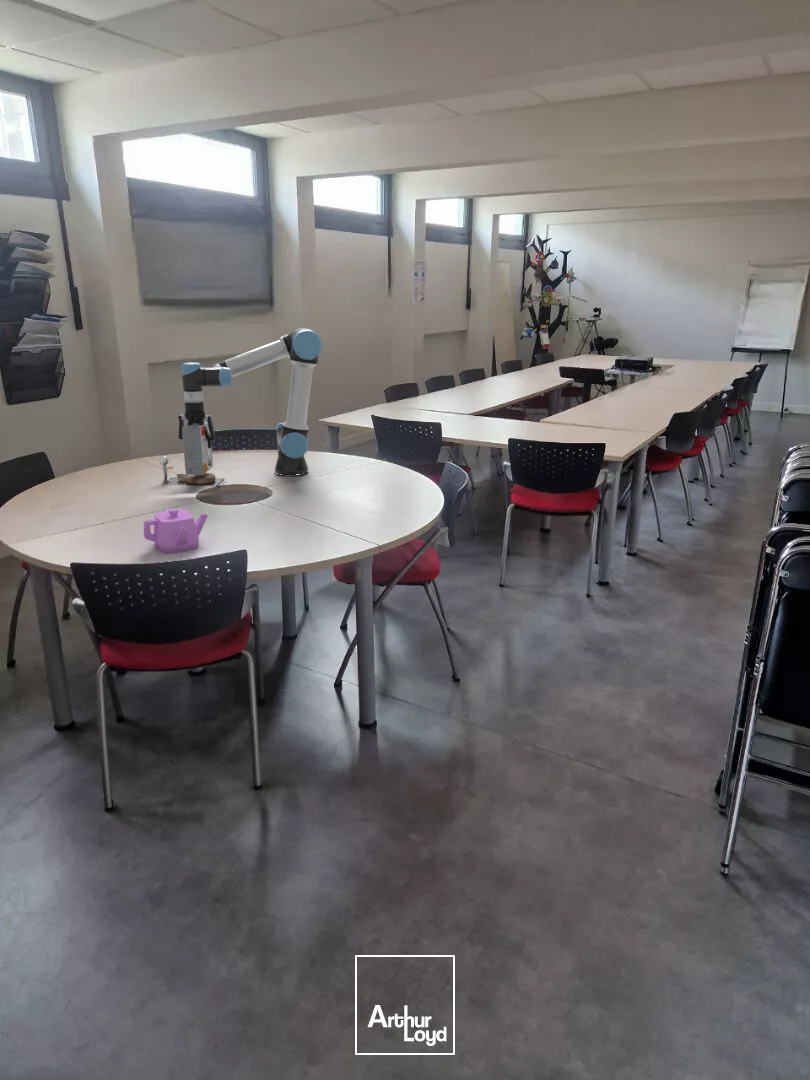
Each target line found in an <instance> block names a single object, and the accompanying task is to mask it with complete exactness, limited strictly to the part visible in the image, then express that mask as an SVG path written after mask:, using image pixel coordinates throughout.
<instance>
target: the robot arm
mask: <svg viewBox="0 0 810 1080" xmlns="http://www.w3.org/2000/svg"><path fill="white" fill-rule="evenodd" d="M321 350H322V340H321V338H320V336H319V335H318V333H317V332H316V331H314V330H312V329H310V328H308V327H307V328H306V327H299V328H297V329H295V330H293V331H291V332H289V333H287V334H284V335H281V336H280V338H279V339H278V340H276V341H273V342H270V343H268V344H265V345H262V346H260V347H257V348H255V349H252V350H249V351H246V352H243V353H241V354H238V355H236V356H232V357H231V358H227V359H225V360H223V361H220V362H216V363H212V364H210V366H209V367H202V365H201V364H200V362H184V363H182V364H181V379H182V389H183V397H184V398H183V399H184V401H185V402H184V410H185V411H184V414H179V415H178V416H177V418H178V421H179V423H178V439H179V440H182V441H183V435H182V428H183V427H184V426H185V419H186V420H187V424H186V425H191V424H199V425H204V424H205V423H204V422H205V421H204V420H205V419H206V422H208V427H209V431H210V434H209V432H208V430H207V428H206V427H205V428H204V431H205V437H206V439H207V440H206V441H205V444H206V456H210V448H211V447H212V448H213V446H212V445H213V444H212V441H213V440H214V439H216V433H215V429H214V426H213V425H214V423H213V415H212V414H209V415H208V414H206V413H205V405H204V394H203V393H204V392H203V387H223V388H224V387H230V386H232V378H234V377H237V376H239V375H242V374H244V373H247V372H250V371H252V370H255V369H257V368H260V367H263V366H266V365H268V364H271V363H273V362H276V361H279V360H282V359H284V358H288V359H289V361H290V362H291V364H292V369H291V378H290V385H289V386H290V387H289V393H288V400H287V401H288V402H287V403H288V404H287V411H286V417H285V418H286V419H285V421H284V422H279V423H277V424H276V442H277V458H276V462H275V465H274V474H276V473H278V474H282V475H296V474H303V473H306V472H307V471H308V472H309V466H308V463H307V460H306V458H305V455H306V453H307V451H308V449H309V440H308V438H309V430H310V428H309V426H308V424H307V419H308V410H309V402H310V398H311V397H310V396H311V388H312V381H313V374H314V368H315V367H316V366H317V365H318V362H319V355H320V353H321ZM306 474H307V473H306Z"/></svg>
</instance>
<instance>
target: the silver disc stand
mask: <svg viewBox="0 0 810 1080" xmlns="http://www.w3.org/2000/svg"><path fill="white" fill-rule="evenodd" d="M159 463H160V465H162V469H163V470H162V471H163V479H162V482H163V483H166V482H169V478H168V469H170V470H171V469H174V466H167V465H168V464H169V458H168V457H167V456H160V458H159ZM163 483H162V484H163Z"/></svg>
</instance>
